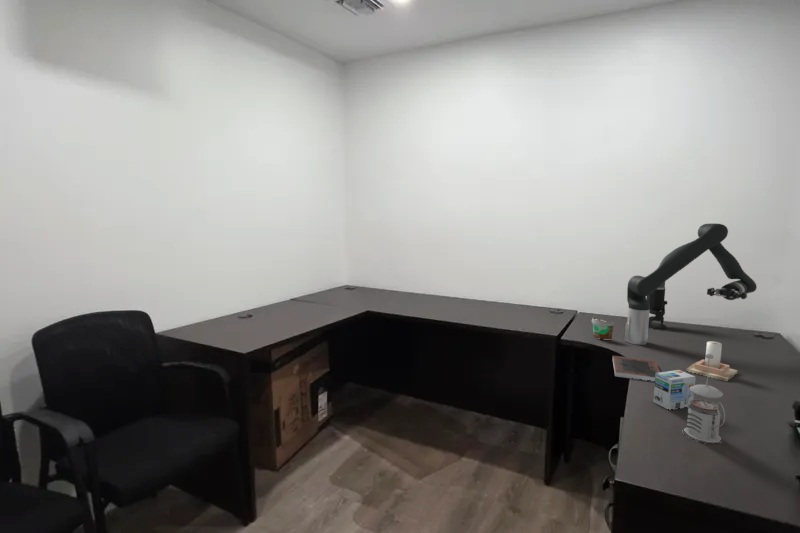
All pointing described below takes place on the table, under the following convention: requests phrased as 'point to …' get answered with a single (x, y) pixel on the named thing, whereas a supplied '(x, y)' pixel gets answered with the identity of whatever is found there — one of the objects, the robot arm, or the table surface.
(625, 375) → the picture frame
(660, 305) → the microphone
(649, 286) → the robot arm
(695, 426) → the french press
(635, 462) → the table surface
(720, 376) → the roll holder
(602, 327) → the food container
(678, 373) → the light bulb box
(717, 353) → the paper roll
